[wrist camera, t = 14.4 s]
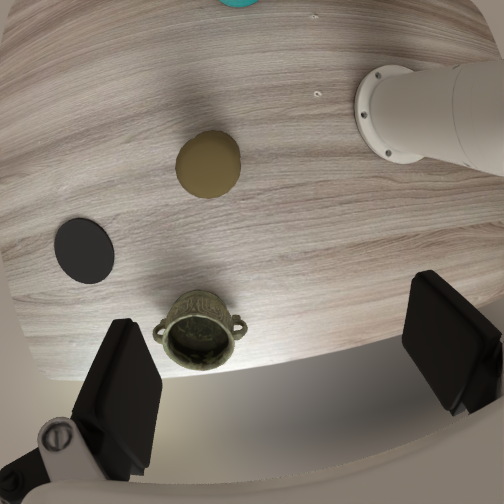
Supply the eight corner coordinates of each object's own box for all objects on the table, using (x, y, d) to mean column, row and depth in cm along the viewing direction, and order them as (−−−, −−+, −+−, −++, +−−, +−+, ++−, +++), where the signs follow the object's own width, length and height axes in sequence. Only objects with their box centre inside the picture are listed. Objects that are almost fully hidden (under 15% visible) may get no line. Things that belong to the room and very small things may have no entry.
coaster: (101, 210, 33) (100, 211, 32) (123, 276, 36) (122, 278, 36) (47, 227, 32) (45, 228, 32) (69, 287, 36) (68, 288, 36)
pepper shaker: (185, 131, 30) (166, 130, 20) (240, 130, 31) (248, 128, 21) (185, 184, 33) (168, 209, 22) (240, 183, 33) (247, 208, 23)
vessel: (163, 342, 41) (157, 372, 35) (150, 289, 37) (139, 316, 31) (247, 337, 41) (251, 368, 36) (243, 282, 38) (247, 310, 32)
